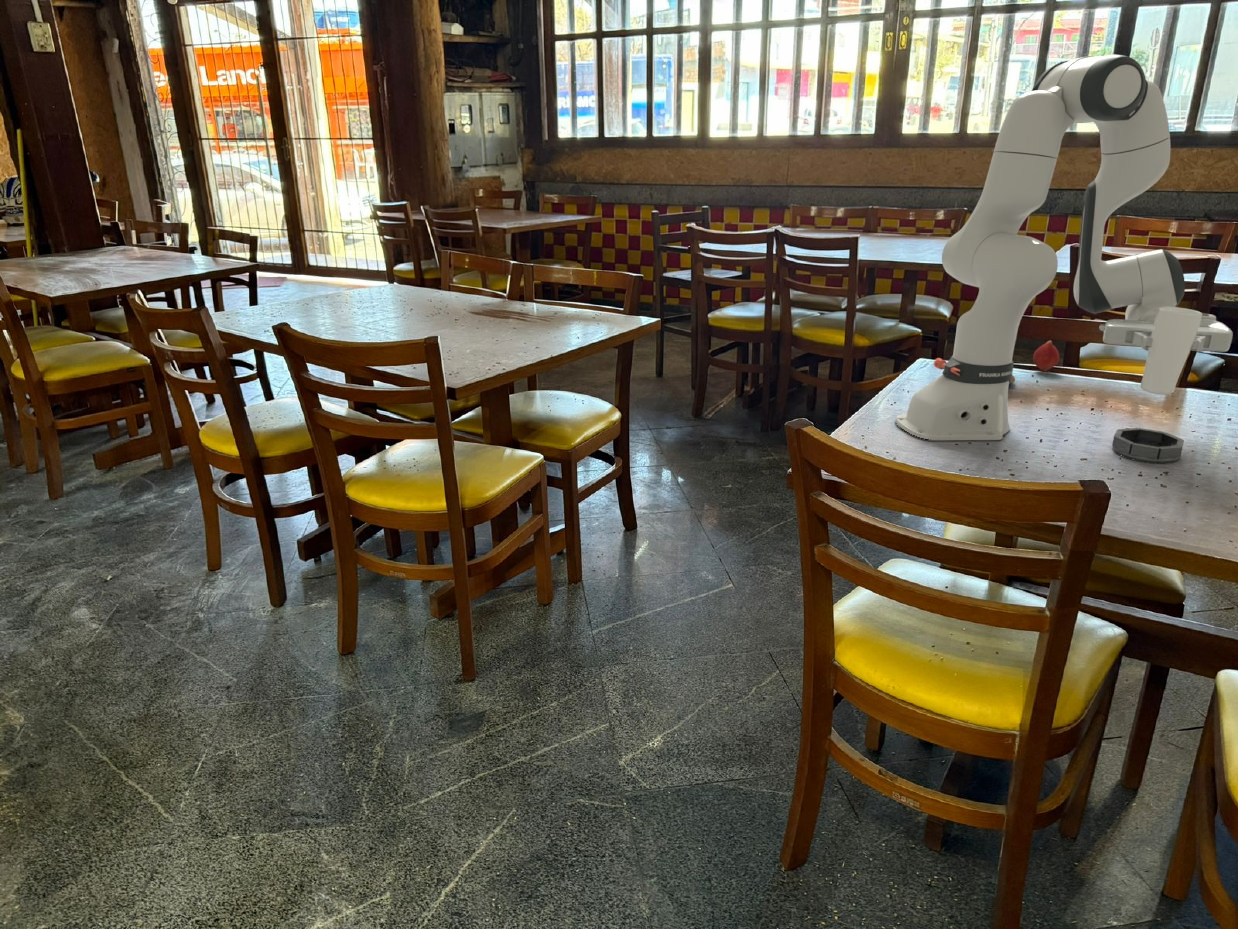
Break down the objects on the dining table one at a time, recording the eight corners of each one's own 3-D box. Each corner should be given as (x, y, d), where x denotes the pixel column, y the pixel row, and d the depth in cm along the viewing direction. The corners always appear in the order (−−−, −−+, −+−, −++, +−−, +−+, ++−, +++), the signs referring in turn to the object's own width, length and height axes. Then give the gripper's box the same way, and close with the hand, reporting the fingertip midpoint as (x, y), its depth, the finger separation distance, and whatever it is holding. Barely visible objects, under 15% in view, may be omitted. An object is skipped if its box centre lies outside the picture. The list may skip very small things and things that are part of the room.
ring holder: (1140, 465, 153) (1144, 450, 152) (1099, 445, 163) (1102, 430, 162) (1194, 461, 154) (1198, 446, 153) (1149, 441, 164) (1152, 426, 163)
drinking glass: (1175, 399, 150) (1201, 316, 144) (1132, 391, 154) (1156, 310, 148) (1179, 391, 155) (1204, 310, 149) (1137, 383, 159) (1160, 304, 153)
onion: (1027, 371, 211) (1033, 340, 208) (1035, 367, 215) (1040, 336, 212) (1052, 376, 208) (1058, 344, 205) (1059, 371, 212) (1065, 340, 209)
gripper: (1101, 308, 164) (1109, 323, 153) (1224, 315, 157) (1243, 331, 145) (1094, 340, 167) (1102, 357, 155) (1216, 348, 159) (1234, 366, 148)
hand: (1172, 344), depth 150 cm, fingers closed on drinking glass, 6 cm apart
